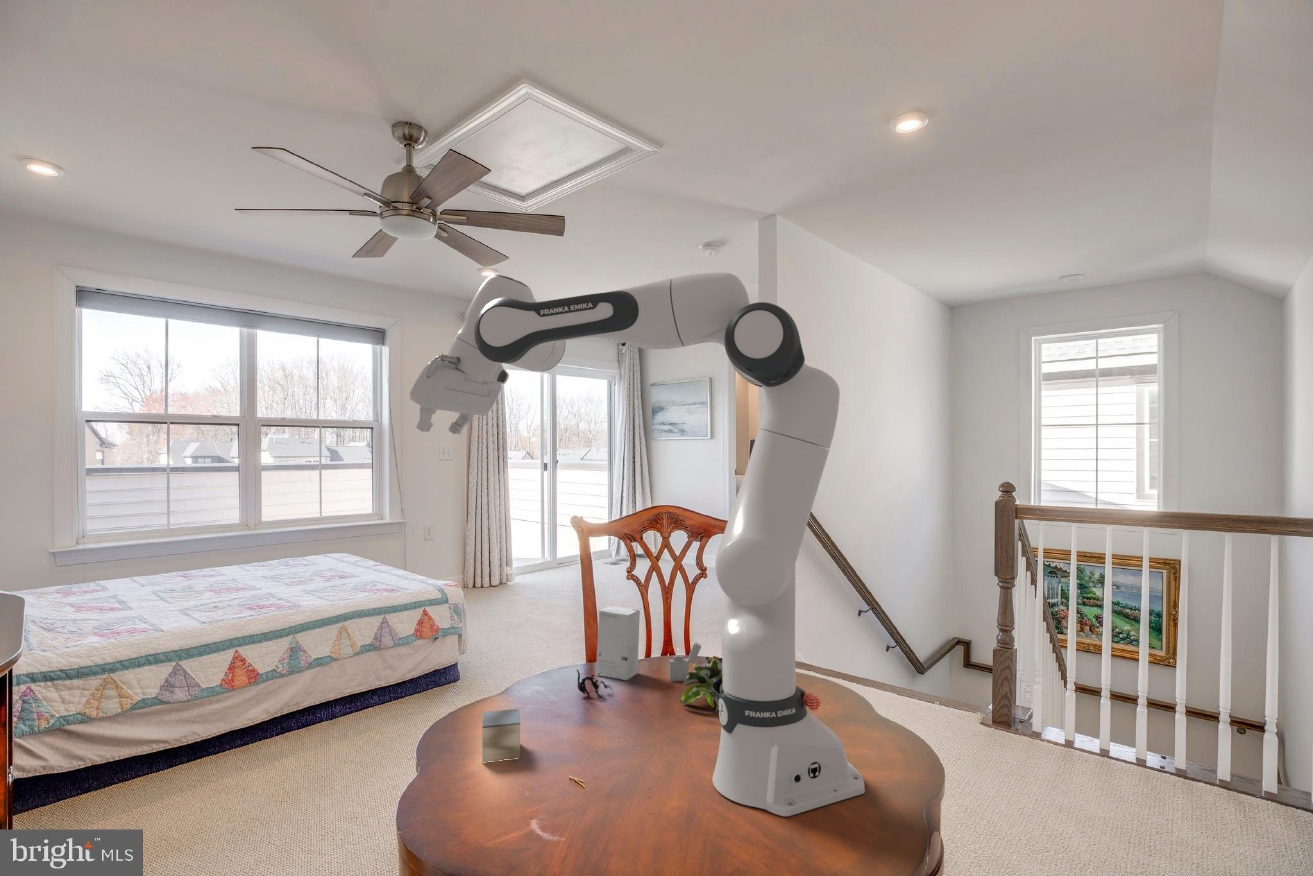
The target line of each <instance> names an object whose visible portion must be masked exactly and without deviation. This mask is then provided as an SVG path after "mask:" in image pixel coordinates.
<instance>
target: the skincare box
mask: <svg viewBox="0 0 1313 876" xmlns="http://www.w3.org/2000/svg"><path fill="white" fill-rule="evenodd" d="M640 612H641V611H640V610H639V609H636V608H635V609H634V608H629V607H624V606H623V607H622V606H615V605H614V606H611V605H608V606H607V607H604V608H601V609H599V610H598V621H597V622H598V623H597V624H598V626H597V627H598V628H597V646H596V647H597V648H596V668H595V671H596V673H595V674H596V676H597V675H598V674H599V673H600V672H601V671H602V672H601V673H600V675H598V676H597V677H603V678H612V679H618V680H623V681H628V680H630V679H631V678H633V677H634V676H636V675H637V674H638V672H639V671H638V670H639V645H640V643H639V642H640V641H639V640H640V615H641V613H640Z"/></svg>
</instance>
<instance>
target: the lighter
mask: <svg viewBox="0 0 1313 876" xmlns="http://www.w3.org/2000/svg"><path fill="white" fill-rule="evenodd" d="M701 648H702V645H701V644H700V643H698V642H696V641H695V642H694V644H693V645H692V647H691V650H690V652H689V654H688V656H687V658H684V655H683V654H681V655H680V654H678V655H677V654H676V655H675V654H674V656H672V659H669V666H668V667H669V668H668V670H669V671H668V673H669V675H668V677H669V678H668V679H669V682H685V680H686V679H687V678H686V677H689V674H688V671H689V663H691V664H695V662H696V660H697V657H698V656H699V653H700V651H701Z"/></svg>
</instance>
